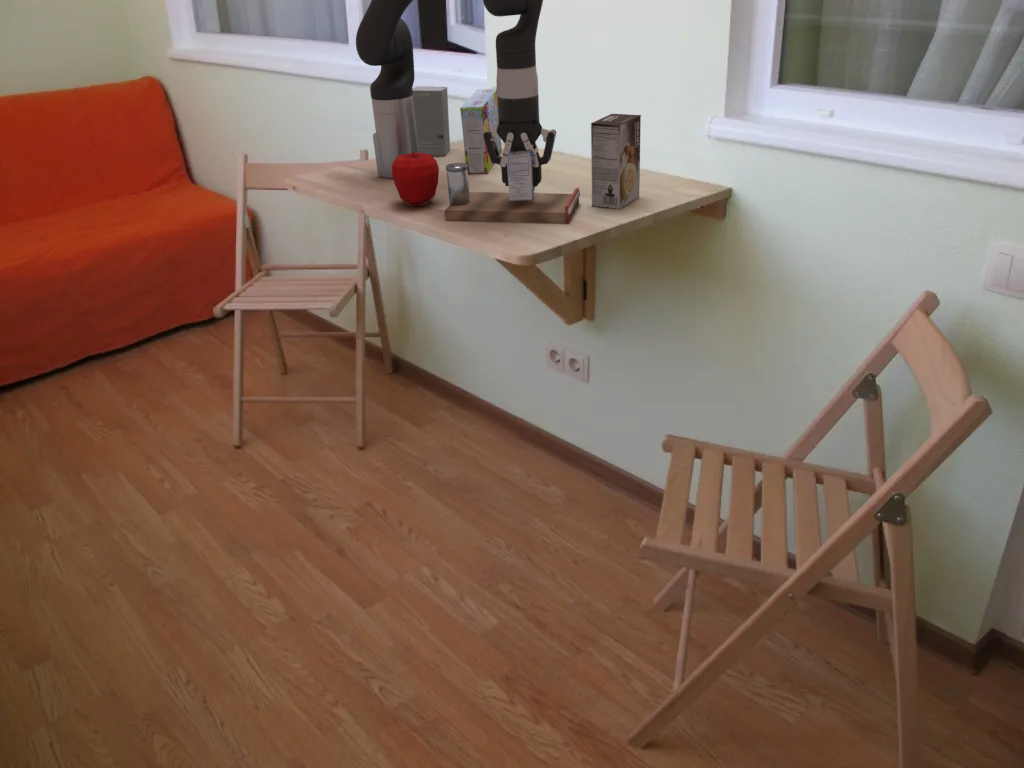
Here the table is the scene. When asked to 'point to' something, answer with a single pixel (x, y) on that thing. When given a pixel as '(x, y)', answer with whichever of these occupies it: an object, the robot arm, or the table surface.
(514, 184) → the medicine box
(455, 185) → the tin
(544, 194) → the brown wooden board
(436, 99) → the skincare box
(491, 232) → the table surface
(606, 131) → the coffee box
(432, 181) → the apple
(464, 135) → the snack box
